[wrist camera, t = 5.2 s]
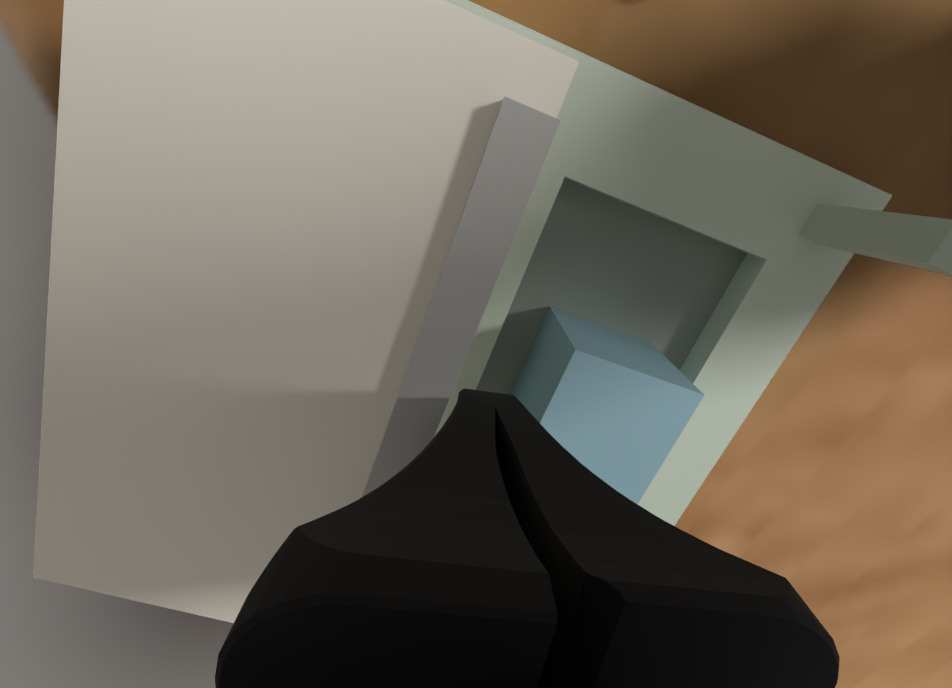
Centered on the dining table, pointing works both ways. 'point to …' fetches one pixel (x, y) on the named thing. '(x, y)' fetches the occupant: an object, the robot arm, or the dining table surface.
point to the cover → (265, 269)
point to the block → (606, 399)
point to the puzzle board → (681, 250)
